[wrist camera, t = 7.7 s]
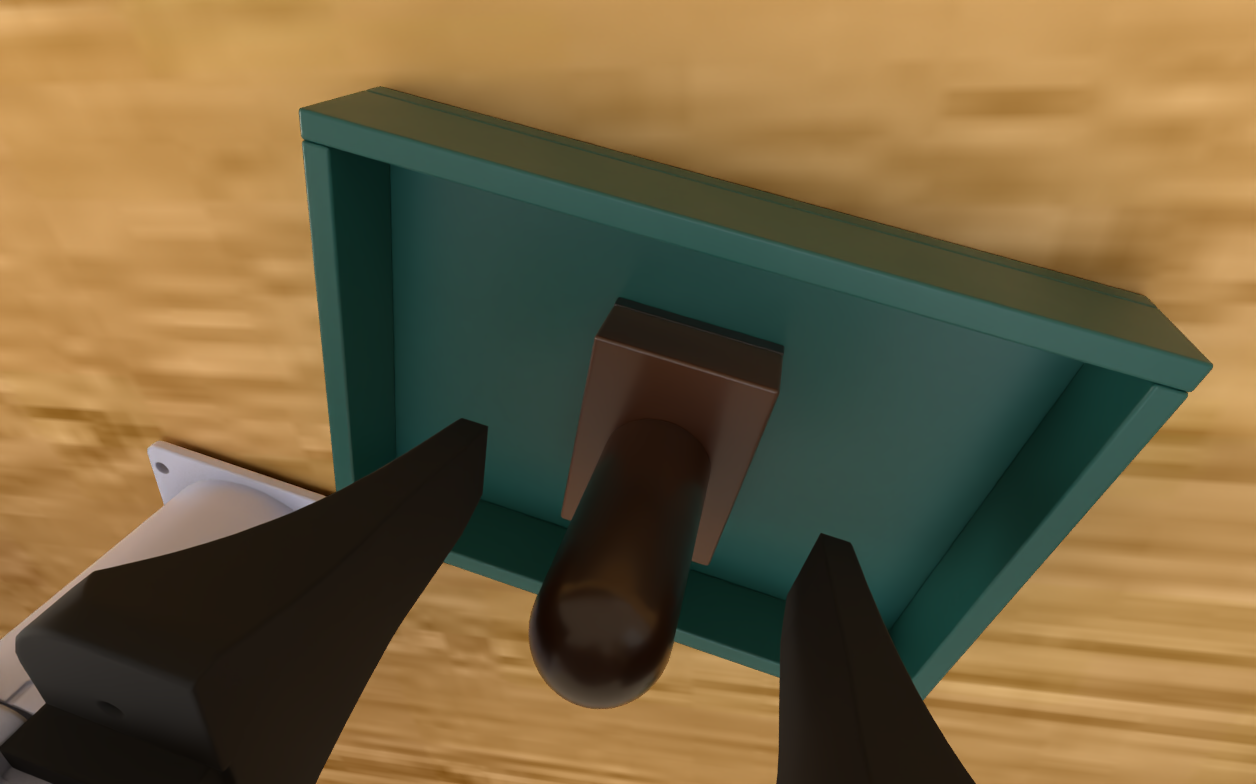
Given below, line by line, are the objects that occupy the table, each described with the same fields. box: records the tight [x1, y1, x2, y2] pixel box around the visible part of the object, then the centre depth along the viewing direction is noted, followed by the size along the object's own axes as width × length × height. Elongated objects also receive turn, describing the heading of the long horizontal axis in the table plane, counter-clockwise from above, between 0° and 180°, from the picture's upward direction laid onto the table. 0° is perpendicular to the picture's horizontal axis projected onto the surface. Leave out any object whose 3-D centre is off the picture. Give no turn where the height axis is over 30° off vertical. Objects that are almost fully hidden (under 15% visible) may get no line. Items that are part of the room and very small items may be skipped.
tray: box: [299, 86, 1213, 700], centre depth 16 cm, size 12×17×3 cm
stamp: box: [529, 297, 784, 709], centre depth 13 cm, size 6×4×8 cm
